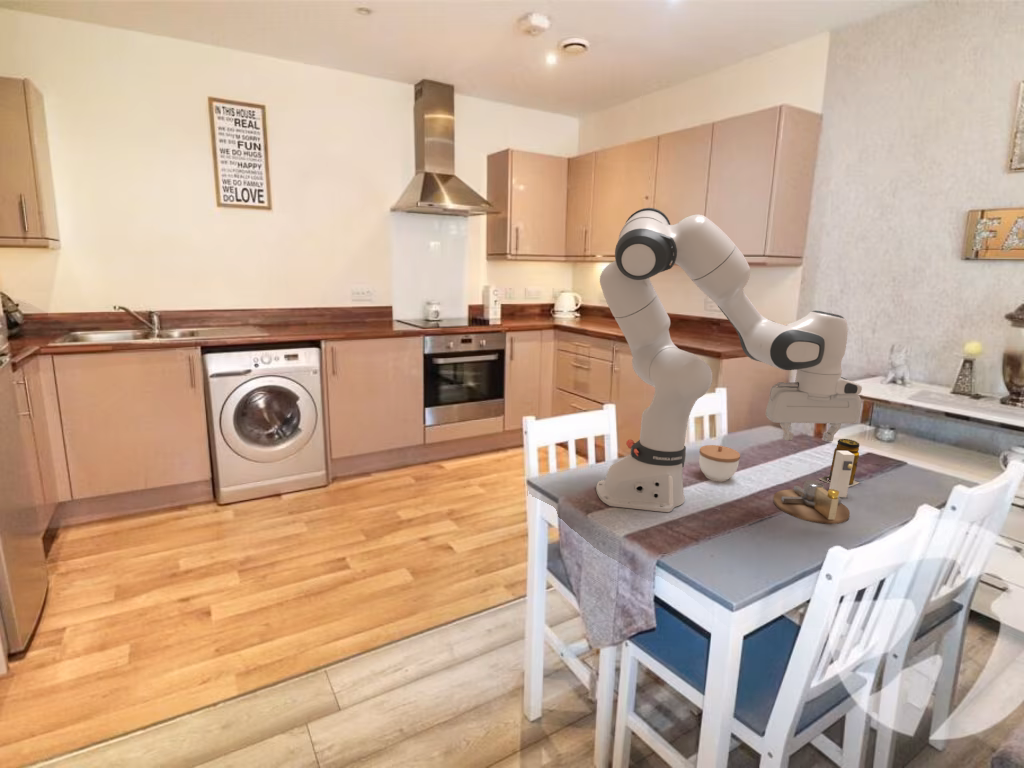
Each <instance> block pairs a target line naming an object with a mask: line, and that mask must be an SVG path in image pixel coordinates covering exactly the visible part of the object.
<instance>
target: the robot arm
mask: <svg viewBox="0 0 1024 768" xmlns="http://www.w3.org/2000/svg"><path fill="white" fill-rule="evenodd" d="M614 258H615V259H614V260H613V261H612V262H610V263H609V264H607V265H606V266H605V268H604V269H603V270H602V272H601V273H600V275H599V284H600V286H601V287H600V288H601V291H602V293H603V296H604V299H605V301H606V304H607V305H608V307H609V310H610V312H611V314H612V317H614V320H615V321H616V323H617V324H618V327H619V329H620V330H621V332H622V334H623V336H624V338H625V341H626V342H627V344H628V346H629V347H628V348H629V350H630V353H631V357H632V360H631V364H632V365H631V366H632V370H633V372H634V373H635V374H636V375H637V376H638V378H640V379H641V381H643V382H644V383H645V384H647V385H649V386H652V387H654V394H653V399H652V401H651V403H650V404H649V406H648V407H646V408H645V409H644V410H643V412H642V414H641V422H640V431H639V439H638V441H636V442H634V440H633V439H632V438H631V439H628V440H627V441H626V446H627V448H628V449H630V454H629V455H627V456H626V457H623V458H622V459H620V460H618V461H616V462H615V463H613V464H612V465H611V466H610V467H609V468H608V470H607V473H606V475H605V476H606V477H605V479H602V480H599V481H598V482H597V484H596V487H595V488H596V489H595V491H596V495H597V496H598V498H599V499H600V501H602V503H604V504H606V505H607V506H608V507H617V508H624V509H625V508H626V509H636V510H643V511H644V510H645V511H652V512H653V511H655V512H662V513H663V512H664V513H670V512H671V511H673V510H674V508H676V507H679V506H681V505H682V504H684V503H685V501H686V496H685V491H684V483H683V482H684V481H683V468H684V466H685V462H686V455H687V453H686V451H687V447H686V445H685V444H686V437H687V431H688V430H687V429H688V422H689V420H690V419H689V418H690V415H691V412H692V410H693V408H694V406H695V404H696V403H697V402H698V400H699V399H700V398H702V397H704V396H705V395H706V394H707V393H708V391H709V390H710V388H711V386H712V383H713V376H714V375H713V371H712V369H711V367H710V365H709V364H708V363H707V362H706V361H704V360H703V359H702V358H700V357H699V356H698V355H696V354H695V353H692V352H690V351H686V350H683V349H680V348H678V346H677V345H676V344H675V343H674V342H673V340H672V338H671V334H670V330H669V329H670V327H671V318H670V316H669V315H668V314H669V313H668V312H667V309H665V306H664V304H663V302H662V300H661V299H660V297H659V295H658V293H657V291H656V289H655V288H654V285H653V283H652V281H651V278H652V277H654V276H656V275H658V274H659V273H662V272H665V271H668V270H670V269H672V268H673V267H674V265H677V266H678V267H680V269H681V270H682V271H684V273H685V274H686V275H687V276H688V277H689V279H691V281H692V282H693V283H694V284H695V286H697V288H699V289H700V291H701V292H703V294H704V295H706V297H708V298H710V300H711V301H713V302H714V303H715V304H716V306H717V308H719V310H720V311H721V312H722V314H723V315H724V316H725V318H726V319H727V321H728V322H730V324H731V325H732V327H733V328H734V329H735V331H736V333H737V336H738V339H739V342H740V345H741V348H742V351H743V353H744V354H745V355H746V356H747V357H748V358H750V359H751V360H753V361H756V362H760V363H764V364H766V365H769V366H771V367H774V368H777V369H779V370H781V371H782V370H783V371H795V370H796V374H795V381H794V382H784V381H783V382H782V381H780V382H777V383H776V384H774V385H772V386H771V387H770V390H769V399H768V403H767V406H766V410H765V416H766V418H767V419H768V420H769V421H771V422H773V423H775V424H777V423H779V425H780V427H781V430H782V431H783V435H782V438H783V440H784V441H787V442H789V441H790V442H791V441H792V442H793V440H794V436H795V435H794V433H793V432H792V431H790V429H789V428H790V427H791V424H829V426H830V427H829V428H828V430H827V431H824V432H823V435H822V440H823V441H825V442H833V441H834V437H835V435H836V433H838V431H839V430H840V429H841V426H842V425H843V424H845V425H849V424H850V425H851V424H852V425H853V424H856V423H857V422H858V421H859V419H860V415H861V408H862V407H861V406H862V398H861V396H860V395H859V394H861V393H862V390H863V387H862V385H861V384H858V383H856V382H854V381H851V380H849V379H847V378H845V377H843V376H842V371H843V369H842V360H843V358H844V357H845V353H846V349H847V344H848V342H847V341H848V330H849V329H848V323H847V320H846V318H845V317H844V316H842V315H840V314H836V313H832V312H825V311H821V310H811V311H809V312H808V313H807V314H806V315H804V316H803V317H802V318H799V319H798V320H794V321H793V322H790V323H786V324H784V323H783V324H782V323H779V322H776V321H773V320H771V319H769V318H766V317H765V316H764V315H762V314H761V313H760V312H759V310H758V309H757V307H756V306H755V305H754V304H753V303H752V301H751V300H750V298H749V297H748V295H747V294H746V292H745V291H744V288H745V287H746V286H747V283H748V282H749V280H750V276H751V266H750V264H749V263H748V261H747V259H746V257H745V256H744V254H743V252H742V251H741V250H740V249H739V247H738V246H737V245H736V244H735V242H734V241H733V240H732V239H731V238H730V237H729V236H728V235H727V233H726V232H724V230H723V229H721V228H720V227H719V226H718V225H717V224H716V223H714V221H712V220H711V219H709V218H708V217H707V216H705V215H703V214H698V213H697V214H693V215H689V216H687V217H684V218H683V219H681V220H680V221H678V222H677V223H675V224H671V222H670V220H669V218H668V216H667V215H666V214H665V213H664V212H662V211H661V210H659V209H657V208H654V207H645V208H641V209H639V210H636V211H635V212H633V213H632V214H631V215H630V216H629V217H628V218H627V220H626V221H625V224H624V225H623V226H622V228H621V231H620V233H619V235H618V239H617V243H616V246H615V248H614Z"/></svg>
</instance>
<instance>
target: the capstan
mask: <svg viewBox="0 0 1024 768" xmlns="http://www.w3.org/2000/svg"><path fill="white" fill-rule="evenodd" d="M792 489H793V490H794V491H795V492H797V493H798V494H799V495H800V496H801V497H785V496H782V499H781V501H782V502H783V503H803V504H805V505H807V506H810V507H813V508H815V509H816V510H817V511H819V512H820V513H821V514H822V515H823V516H825V517H826V518H827V519H835V515H836V510H837V505H838V504H841V503H842V502H843V501H842V500H843V499H842V498H841V497H838V495H839V491H837V490H834V489H828V490H827V489H826V488H825V484H824V483H822V482H820V481H818V480H817V481H816V480H811V479H806V480H805V481H804V482H803V488H802V487H801V486H800V485H793V488H792Z"/></svg>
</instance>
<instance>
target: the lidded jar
mask: <svg viewBox="0 0 1024 768" xmlns="http://www.w3.org/2000/svg"><path fill="white" fill-rule="evenodd" d="M740 458H741V454H740V452H738V451H737V450H735V449H734V448H731V447H727V446H725V445H724V446H722V445H716V444H715V445H714V444H707V445H703V446H701V447H699V457H698V463H699V464H698V465H699V469H700V470H701V472H702V473H703V475H704V476H705V478H707V480H711V481H714V482H719V483H720V482H728V480H729V479H730V478H732V477H733V476H735V474H736V472H737V470H738V467H739V463H740Z"/></svg>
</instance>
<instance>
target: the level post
mask: <svg viewBox="0 0 1024 768" xmlns="http://www.w3.org/2000/svg"><path fill="white" fill-rule="evenodd" d="M854 456H855V455H854V454H852V453H851V452H849V451H836V456H835V461H834V467H833V472H832V477H831V482H830V484H829V487H828V488H829V489H834V490H837V491H839V495H838V498H847V495H848V490H849V487H848V486H849V481H850V476H851V471H852V467H853V461H854ZM829 489H828V490H829Z"/></svg>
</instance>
